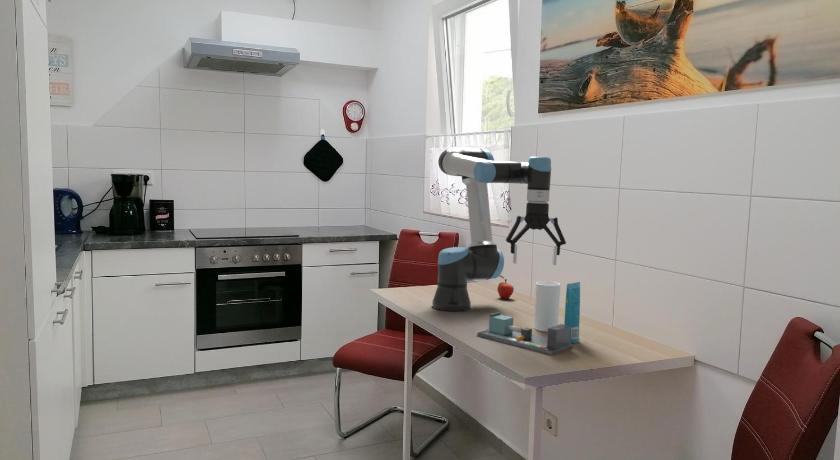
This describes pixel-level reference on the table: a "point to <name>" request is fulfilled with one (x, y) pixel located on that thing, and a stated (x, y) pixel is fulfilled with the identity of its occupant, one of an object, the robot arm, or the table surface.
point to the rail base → (536, 340)
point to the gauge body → (502, 324)
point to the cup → (546, 305)
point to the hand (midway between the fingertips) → (534, 263)
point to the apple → (505, 289)
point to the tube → (573, 310)
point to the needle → (525, 334)
